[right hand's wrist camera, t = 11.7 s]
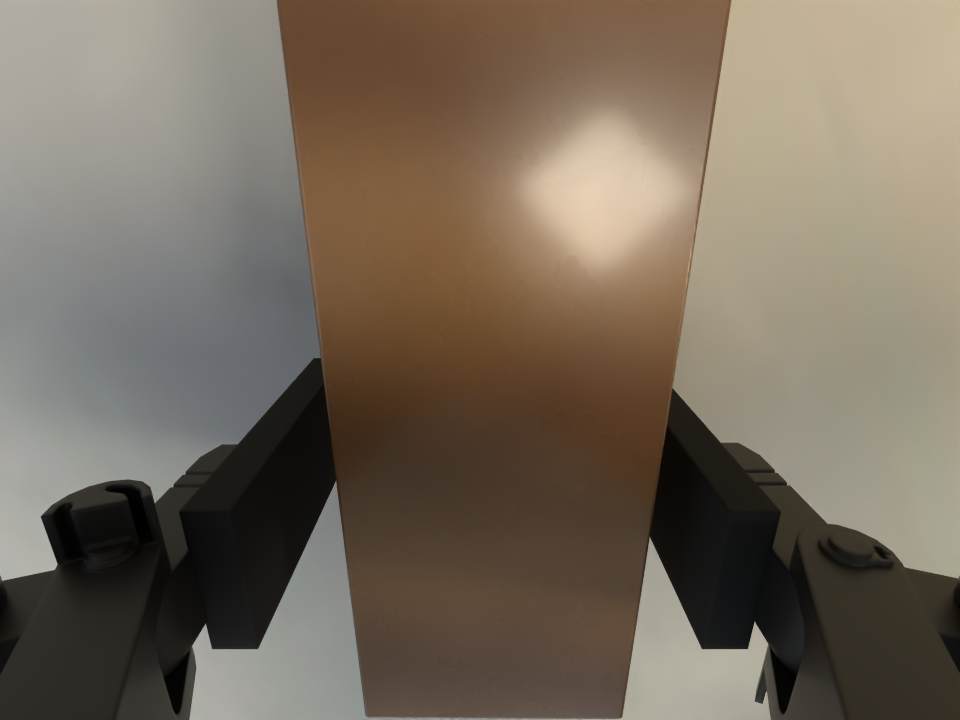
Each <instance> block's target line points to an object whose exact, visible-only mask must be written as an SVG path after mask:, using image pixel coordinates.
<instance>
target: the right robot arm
mask: <svg viewBox="0 0 960 720" xmlns="http://www.w3.org/2000/svg"><path fill="white" fill-rule="evenodd" d="M335 482H336V474H335V466H334V458H333V450H332V442H331V434H330V426H329V418H328V410H327V402H326V394H325V386H324V378H323V370H322V362H321V358H314V359H313V360H312V361H311V362H310V363H309V365H308V366H307V367H306V368H305V369H304V370H303V371H302V372H301V374H300V375H299V376H298V377H297V378H296V379H295V380H294V382H293V383H292V384H291V385H290V386H289V387H288V388H287V389H286V391H285V392H284V393H283V394H282V395H281V396H280V397H279V399H278V400H277V401H276V402H275V403H274V404H273V405H272V406H271V408H270V409H269V410H268V411H267V412H266V413H265V414H264V416H263V417H262V418H261V419H260V420H259V421H258V422H257V423H256V425H255V426H254V427H253V428H252V429H251V430H250V431H249V433H248V434H247V435H246V436H245V437H244V438H243V439H242V440H241V442H240V443H239V444H238V445H220V446H219V447H217V448H215V449H214V450H212V451H210V452H208V453H207V454H205V455H203V456H201V457H200V458H199V459H198V460H197V461H196V462H195V463H194V464H193V465H192V466H191V467H190V468H189V469H188V470H187V471H186V475H182V476H181V477H180V478H179V479H178V480H177V481H176V483H175V484H174V487H173V488H170V489H169V490H168V491H167V492H166V493H165V494H164V495H163V496H162V497H161V498H160V499H159V500H158V501H157V502H156V503H154V499H153V495H152V492H151V488H150V487H149V486H148V485H147V484H145V483H144V482H142V481H135V480H118V481H109V482H105V483H101V484H97V485H93V486H89V487H87V488H84V489H82V490H79V491H77V492H75V493H72V494H70V495H68V496H66V497H65V498H63V499H61V500H60V501H58V502H56V503H55V504H53V505H52V506H51V507H50V508H49V509H48V510H47V511H46V512H45V513H44V514H43V515H42V516H41V519H42V521H43V524H44V527H45V530H46V532H47V535H48V538H49V541H50V544H51V546H52V549H53V552H54V555H55V558H56V560H57V563H58V565H57V567H56V569H55V570H53V571H48V572H43V573H38V574H34V575H29V576H24V577H19V578H14V579H9V580H5V581H2V579H1V576H0V720H189V718H190V710H191V703H192V696H193V688H194V681H195V673H196V662H195V656H194V652H193V648H192V645H193V643H194V642H195V640H196V638H197V637H198V635H199V633H200V632H201V630H202V628H203V627H204V625H205V624H206V625H207V630H208V634H209V638H210V642H211V646H212V649H258V648H259V646H260V643H261V641H262V639H263V637H264V635H265V633H266V631H267V628H268V626H269V624H270V622H271V620H272V618H273V615H274V613H275V611H276V609H277V607H278V605H279V603H280V600H281V598H282V596H283V594H284V592H285V590H286V587H287V585H288V583H289V581H290V579H291V577H292V574H293V572H294V570H295V568H296V566H297V564H298V562H299V559H300V557H301V555H302V553H303V551H304V549H305V546H306V544H307V542H308V540H309V538H310V536H311V534H312V531H313V529H314V527H315V525H316V523H317V521H318V518H319V516H320V514H321V512H322V510H323V508H324V505H325V503H326V501H327V499H328V497H329V495H330V493H331V490H332V488H333V486H334V484H335ZM650 538H651V540H652V542H653V544H654V546H655V549H656V551H657V553H658V555H659V557H660V559H661V562H662V564H663V566H664V568H665V570H666V572H667V574H668V577H669V579H670V581H671V583H672V585H673V587H674V590H675V592H676V594H677V596H678V598H679V600H680V602H681V605H682V607H683V609H684V611H685V613H686V615H687V618H688V620H689V622H690V624H691V626H692V628H693V631H694V633H695V635H696V637H697V639H698V641H699V643H700V646H701V648H702V649H748V646H749V642H750V638H751V634H752V630H753V626H754V621H755V622H756V624H757V626H758V627H759V629H760V631H761V632H762V634H763V636H764V637H765V639H766V641H767V642H768V648H767V652H766V656H765V659H764V663H763V667H762V671H761V675H760V678H759V682H758V686H757V690H756V697H755V702H758V703H761V704H763V700H764V697H765V693H766V691H767V694H768V702H769V709H770V716H771V720H960V576H959V579H958V578H953V577H948V576H943V575H938V574H933V573H929V572H924V571H919V570H914V569H909V568H905V567H904V566H903V564H902V563H901V562H900V560H899V559H898V558H897V557H896V555H895V554H894V553H893V552H892V551H891V550H890V549H888V548H887V547H885V546H884V545H883V544H881V543H880V542H878V541H877V540H875V539H873V538H871V537H869V536H867V535H865V534H863V533H861V532H859V531H856V530H853V529H849V528H846V527H842V526H839V525H833V524H827V523H826V522H825V521H824V520H823V519H822V518H821V517H820V516H819V515H818V514H817V513H816V512H815V511H814V510H813V509H812V508H811V507H810V506H809V505H808V504H807V503H806V502H805V501H804V500H803V498H802V497H801V496H800V495H799V494H798V493H797V492H796V491H795V490H794V489H793V488H792V487H791V486H787V482H786V481H785V480H784V479H783V478H782V477H781V476H780V475H779V474H778V473H775V470H774V469H773V468H772V467H771V466H770V465H769V464H768V463H767V462H766V461H765V460H764V459H763V458H762V457H761V456H760V455H759V454H757V453H755V452H753V451H752V450H750V449H748V448H746V447H745V446H743V445H741V444H739V443H720V442H719V440H718V439H717V438H716V437H715V436H714V435H713V434H712V433H711V431H710V430H709V429H708V428H707V427H706V426H705V425H704V423H703V422H702V421H701V420H700V419H699V418H698V417H697V416H696V414H695V413H694V412H693V411H692V410H691V409H690V408H689V406H688V405H687V404H686V403H685V402H684V401H683V400H682V399H681V397H680V396H679V395H678V394H677V393H676V392H675V391H674V389H673V388H672V393H671V400H670V406H669V413H668V419H667V426H666V433H665V439H664V446H663V452H662V459H661V465H660V472H659V479H658V485H657V492H656V498H655V505H654V511H653V518H652V525H651V531H650Z"/></svg>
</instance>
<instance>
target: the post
mask: <svg viewBox="0 0 960 720" xmlns="http://www.w3.org/2000/svg"><path fill="white" fill-rule="evenodd" d="M730 6H731V0H277V8H278V16H279V24H280V32H281V40H282V48H283V56H284V64H285V72H286V80H287V88H288V96H289V104H290V112H291V120H292V128H293V136H294V144H295V153H296V161H297V169H298V177H299V185H300V193H301V201H302V209H303V217H304V225H305V233H306V241H307V249H308V257H309V265H310V273H311V281H312V289H313V297H314V305H315V313H316V321H317V329H318V338H319V346H320V354H321V362H322V370H323V378H324V386H325V394H326V402H327V410H328V418H329V426H330V434H331V442H332V450H333V458H334V466H335V474H336V482H337V490H338V498H339V506H340V514H341V522H342V531H343V539H344V547H345V555H346V563H347V571H348V579H349V587H350V595H351V603H352V611H353V619H354V627H355V635H356V643H357V651H358V659H359V667H360V675H361V683H362V691H363V699H364V707H365V715H366V717H369V718H541V719H620V718H622V715H623V708H624V702H625V695H626V689H627V682H628V676H629V669H630V663H631V656H632V649H633V643H634V636H635V630H636V623H637V617H638V610H639V603H640V597H641V590H642V584H643V577H644V571H645V564H646V557H647V551H648V544H649V538H650V531H651V525H652V518H653V511H654V505H655V498H656V492H657V485H658V479H659V472H660V465H661V459H662V452H663V446H664V439H665V433H666V426H667V419H668V413H669V406H670V400H671V393H672V387H673V380H674V374H675V367H676V360H677V354H678V347H679V341H680V334H681V328H682V321H683V314H684V308H685V301H686V295H687V288H688V282H689V275H690V268H691V262H692V255H693V249H694V242H695V236H696V229H697V222H698V216H699V209H700V203H701V196H702V190H703V183H704V176H705V170H706V163H707V157H708V150H709V144H710V137H711V130H712V124H713V117H714V111H715V104H716V98H717V91H718V85H719V78H720V71H721V65H722V58H723V52H724V45H725V39H726V32H727V25H728V19H729V12H730Z"/></svg>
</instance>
